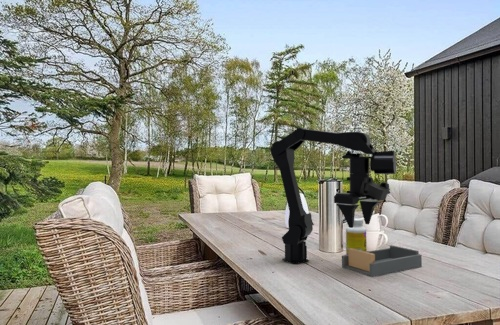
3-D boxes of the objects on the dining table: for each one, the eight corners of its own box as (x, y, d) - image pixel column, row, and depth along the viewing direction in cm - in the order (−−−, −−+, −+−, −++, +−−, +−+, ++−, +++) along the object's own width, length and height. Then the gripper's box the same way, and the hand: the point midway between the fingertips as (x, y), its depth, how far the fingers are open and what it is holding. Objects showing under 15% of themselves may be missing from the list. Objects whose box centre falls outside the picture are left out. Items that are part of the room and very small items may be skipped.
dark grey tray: (372, 277, 108) (372, 260, 108) (341, 267, 118) (341, 252, 118) (421, 266, 118) (421, 251, 119) (389, 258, 129) (389, 244, 129)
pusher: (372, 272, 110) (371, 254, 110) (348, 265, 118) (348, 248, 118) (375, 271, 111) (374, 254, 111) (351, 264, 119) (351, 248, 119)
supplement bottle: (367, 260, 127) (367, 220, 127) (346, 259, 128) (346, 220, 128) (365, 255, 134) (365, 218, 134) (345, 255, 135) (345, 217, 135)
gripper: (367, 175, 105) (367, 233, 105) (399, 173, 118) (399, 225, 118) (332, 174, 113) (332, 228, 113) (366, 173, 126) (366, 221, 126)
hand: (359, 225), depth 117 cm, fingers open, 9 cm apart
